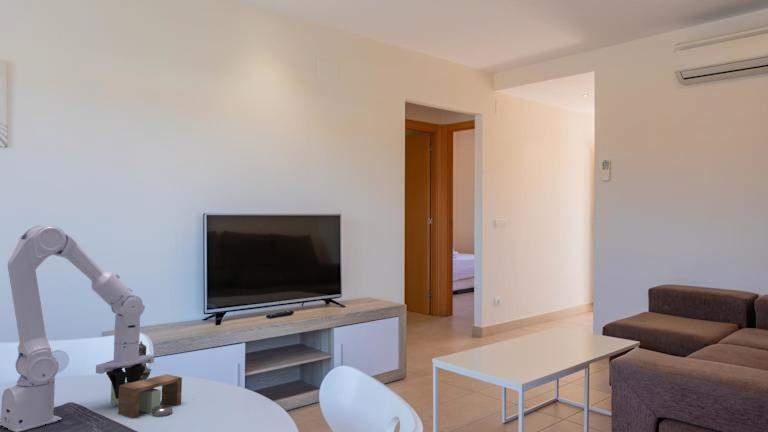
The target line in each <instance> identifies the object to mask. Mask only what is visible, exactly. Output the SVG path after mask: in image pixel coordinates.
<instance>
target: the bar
mask: <svg viewBox="0 0 768 432" xmlns="http://www.w3.org/2000/svg"><path fill="white" fill-rule="evenodd" d="M110 383H111V382H110ZM125 384H128V382H127V381H125ZM161 400H162V389H157V388H152V389H148V390H144V391H140V392H139V412H142V413H146V414H150V415H152V408H154V407H156V406H160V405H161ZM118 402H119V399H117V398H116V397H115V392H114V388H113V385H112V383H111V387H110V403H111V404H113V405H117V406H118Z"/></svg>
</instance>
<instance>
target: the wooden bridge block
mask: <svg viewBox="0 0 768 432" xmlns="http://www.w3.org/2000/svg"><path fill="white" fill-rule="evenodd" d="M182 382H183V377H182V376H177V375H172V374H167V373H166V374H162V375H157V376H154V377H153V376H152V377H148V378H147V379H144V380H140V381H136V382H132V383H128V384H124V385H119V402H118V405H117V407H118V408H117V414H118V415H120V416H124V417H128V418H131V419H136V418H137V419H138V418H139V413H140V411H139V392H140V391H144V390H148V389H152V388H154V389H156V388H159V387H161V402H162V403H166V404H171V405H175V406H180V405H182V392H183V391H182V385H183V383H182Z"/></svg>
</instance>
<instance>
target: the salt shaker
mask: <svg viewBox="0 0 768 432" xmlns="http://www.w3.org/2000/svg"><path fill="white" fill-rule="evenodd" d="M143 355H147V346H146V344H143V341H142V340H140V341H139V356H143ZM142 366H145V371H144V372H143V374H142V376H141V377H140V379H139V381H140V380H144V379H148V378H150V375H151V372H152V368H148V367H147V363H146V364H142Z"/></svg>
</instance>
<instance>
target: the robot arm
mask: <svg viewBox="0 0 768 432" xmlns="http://www.w3.org/2000/svg"><path fill="white" fill-rule="evenodd" d="M51 256H56V257H61V258H64V259H66V260H67V261H68V262H70V263H71V264H72V265H73V266H74V267H75V268H77V269H78V270H79V271H80V272H82V274H84V275H85V277H86V278H88V279H89V280H90V281H91V290H92V291H94V292H95V293H96V294H97V295H98V297H100V298H101V299H102V300H103V301H104V302H105V303H106V304H107V305H108V306H110V309H111V312H112V313H113V314H115V318H114V339H113V359H112V360H108V361H106V362H104V363H99V364H96V365H95V374H97V375H98V374H99V375H101V374H102V375H103V374H105V373H106V375H107V376H108V379H109V380H110V383H112V385H113V388H114V392H115V397H116V398H117V399H119V385H124V384H125V382H128V383H132V382H136V381H139V379H140V377H141V376H142V374H143V372H144V371H145V366H142V364H146V365H147V364H153V363H154V362H155V355H154V354H146V355H143V356H139V344H140V336H141V335H140V332H141V331H140V330H141V329H140V328H141V316H142V314H143V313H144V312H145V309H146V305H144V303H143V300H142V298H141V297H140V296H138V295H135V294H132V292H133V291H134V290H133V289H132V288H131V287H127V286H126V285H125V284H124V283H123V282H122V281H121V280H120V278H121V276H120V275H119V274H118V273H114V272H113V271H103V269H102V268H101V267H100V266H98V263H96V262H95V261H94V259H92V257H90V256H89V255H88V254H87V252H86V251H85V250H84V249H83V248H82V246H80V245H79V244H78V243H77V242H76V241H75V239H74V238H73V237H71V236H70V235H69V234H67V233H65V231H64V230H63V229H62V228H61V227H59V226H56V225H53V224H49V225H48V224H47V225H35V226H32V227H30V228H29V229H28V230H26V232H24V233H23V234H21V235H20V236H19V238H18V242H17V245H16V247H15V248H14V250H13V252H12V253H11V256H10V257H9V259H8V261H7V271H8V276H9V284H10V289H11V296H12V302H13V303H12V304H13V308H14V315H15V320H16V321H15V322H16V327H17V333H18V339H19V343H18V346H17V353H18V355H17V359H16V361H15V365H14V366H15V371H16V372H17V373H18V374H19V378H18V379H17V381H16V384H15V385H14V386H11V387H8V388H6V389H4V391H3V392H2V396H1V405H0V406H1V408H0V425H2V426H4V427H6V428H8V429H7V430H8V431H12V432H24V431H27V430H31V429H34V428H37V427H41V426H45V424H46V425H49V424H52V423H56V422H59V421H58V420H60V421H62V420H63V418H62V417H60V416H58V415H54V412H55V409H54V408H55V387H56V386H55V383H56V375H57V374H58V371H59V361H58V360H57V358H55V356H54V354H53V353H52V348H51V345H50V344H49V341H48V339H47V335H46V329H45V328H46V327H45V322H44V315H43V308H42V303H41V298H40V297H41V296H40V291H39V289H40V288H39V284H38V279H37V272H36V271H37V268H38V267H40V265H42V263H43V262H45V260H46V259H47V258H49V257H51ZM61 419H62V420H61ZM4 427H3V428H4ZM6 428H5V429H6Z"/></svg>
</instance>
